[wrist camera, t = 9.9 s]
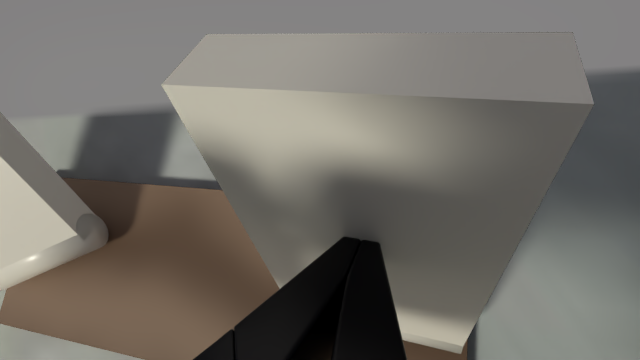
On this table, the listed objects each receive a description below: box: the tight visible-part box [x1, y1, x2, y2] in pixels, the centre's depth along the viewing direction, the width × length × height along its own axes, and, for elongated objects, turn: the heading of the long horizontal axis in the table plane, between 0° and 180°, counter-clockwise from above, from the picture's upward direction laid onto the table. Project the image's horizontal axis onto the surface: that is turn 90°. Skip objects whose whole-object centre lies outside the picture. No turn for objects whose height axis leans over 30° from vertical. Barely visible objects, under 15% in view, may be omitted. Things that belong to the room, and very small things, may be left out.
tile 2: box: [161, 32, 594, 354], centre depth 10 cm, size 2×6×11 cm, turn 80°
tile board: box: [0, 178, 468, 360], centre depth 16 cm, size 8×23×1 cm, turn 83°
